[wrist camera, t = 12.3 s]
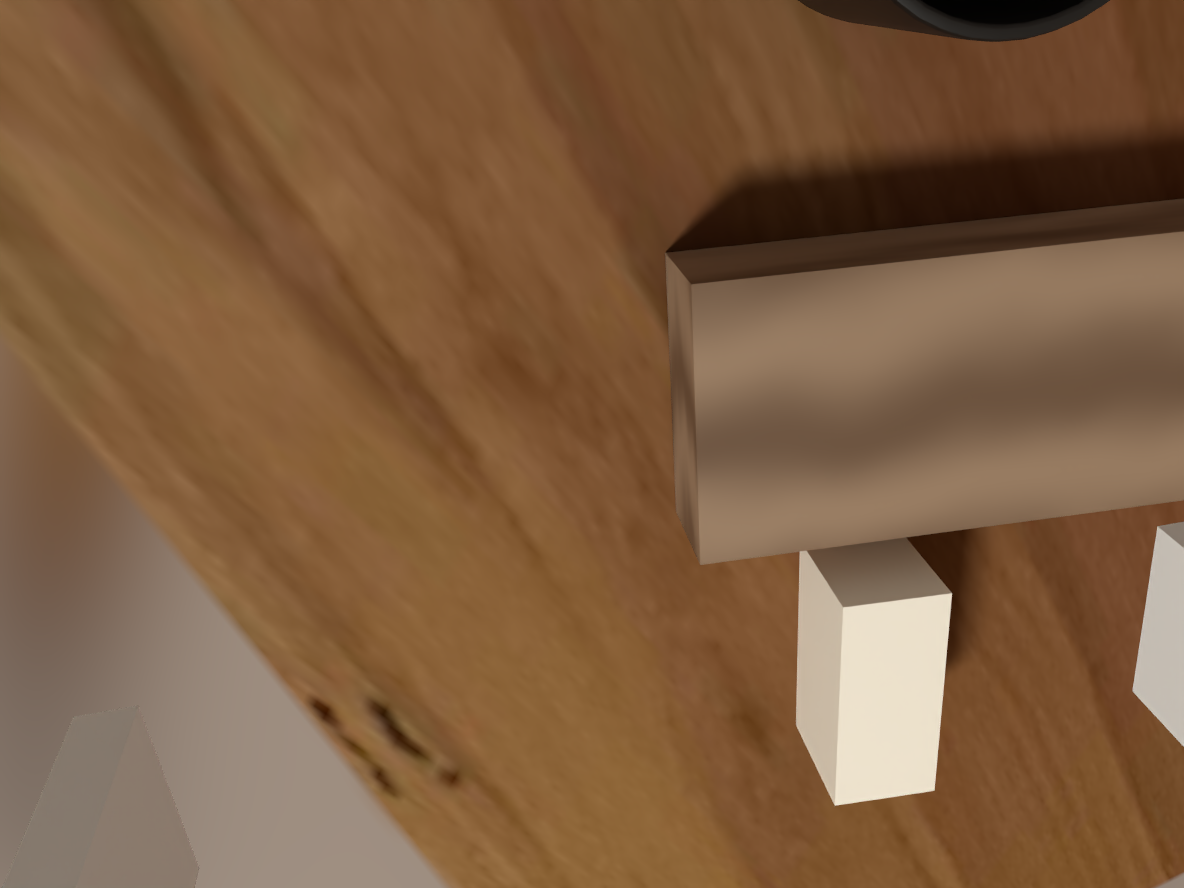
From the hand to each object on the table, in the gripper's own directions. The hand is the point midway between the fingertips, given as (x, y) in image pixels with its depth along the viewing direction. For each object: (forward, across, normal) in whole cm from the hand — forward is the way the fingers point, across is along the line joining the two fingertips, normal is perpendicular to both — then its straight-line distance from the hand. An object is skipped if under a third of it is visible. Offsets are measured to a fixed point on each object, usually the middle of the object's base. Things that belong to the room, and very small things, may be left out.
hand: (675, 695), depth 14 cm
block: (+22, +11, -14) cm, 28 cm away
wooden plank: (+24, +15, -7) cm, 29 cm away
